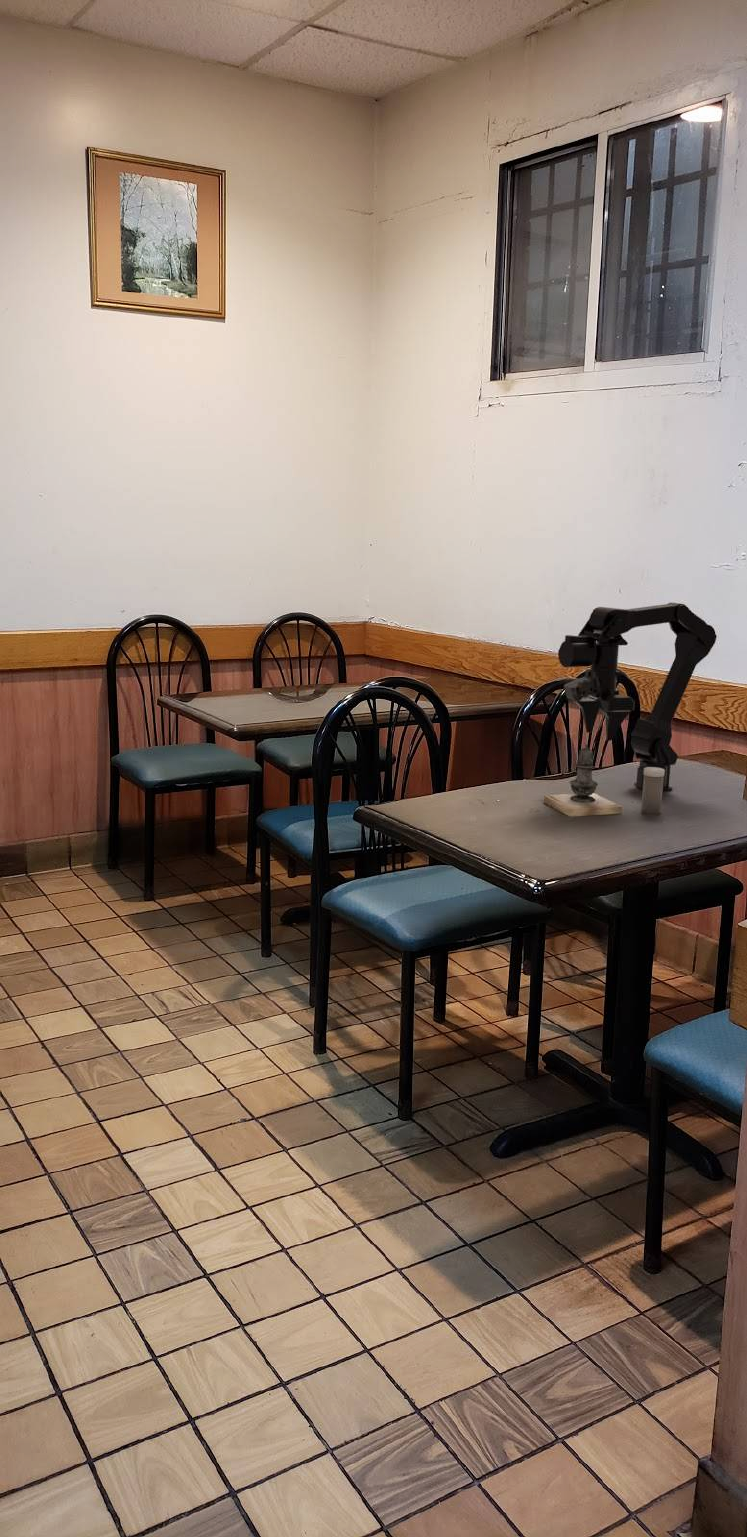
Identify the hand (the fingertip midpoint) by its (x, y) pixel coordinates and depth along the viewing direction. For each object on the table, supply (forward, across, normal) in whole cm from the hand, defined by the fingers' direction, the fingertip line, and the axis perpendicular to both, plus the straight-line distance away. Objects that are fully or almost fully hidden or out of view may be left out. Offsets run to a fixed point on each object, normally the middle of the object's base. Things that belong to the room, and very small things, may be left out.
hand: (598, 736), depth 261 cm
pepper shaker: (+13, +17, +4) cm, 22 cm away
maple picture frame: (+13, +11, -9) cm, 19 cm away
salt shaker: (+11, +11, -9) cm, 18 cm away
